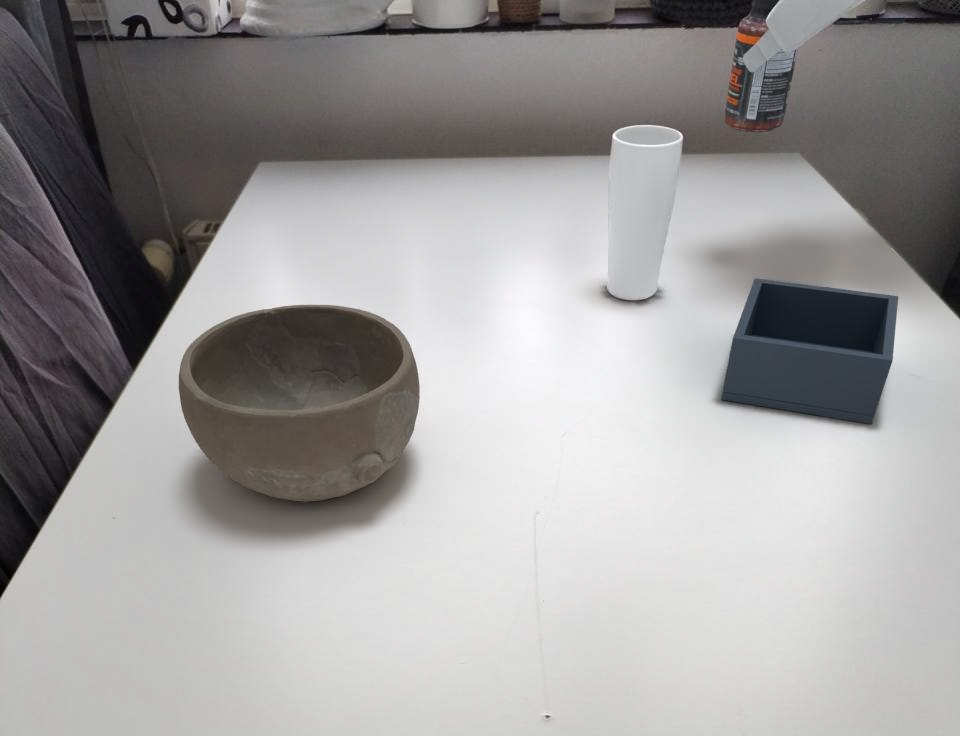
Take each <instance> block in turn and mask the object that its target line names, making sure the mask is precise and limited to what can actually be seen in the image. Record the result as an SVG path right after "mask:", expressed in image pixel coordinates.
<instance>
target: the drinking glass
mask: <svg viewBox="0 0 960 736" xmlns="http://www.w3.org/2000/svg"><path fill="white" fill-rule="evenodd" d="M683 135H684V134H682V132H680V131H679V130H677V129H674V128H671V127H667V126H663V125H654V124H653V125H652V124H640V125H639V124H638V125H637V124H636V125H630V126H629V125H628V126H625V127H621V128H619V129H617V130H615V131H614V132H613V134H612V136H611V137H612V138H611V145H610V155H609V164H608V179H607V181H608V183H607V274H606V275H607V276H606V288H607V291H608V293H609V294H610V295H611V296H613V297H615V298H617V299H620V300H625V301H641V300H646V299H648V298H650V297H652V296H654V295H655V294H656V293H657V290H658V287H659V281H660V272H661V267H662V262H663V257H664V253H665V249H666V248H665V247H666V243H667V239H668V234H669V229H670V224H671V221H672V220H671V219H672V215H673V211H674V205H675V200H676V195H677V192H678V191H677V190H678V186H679V180H680V179H679V178H680V173H681V165H682V157H683V156H682V154H683V143H684V136H683Z"/></svg>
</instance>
